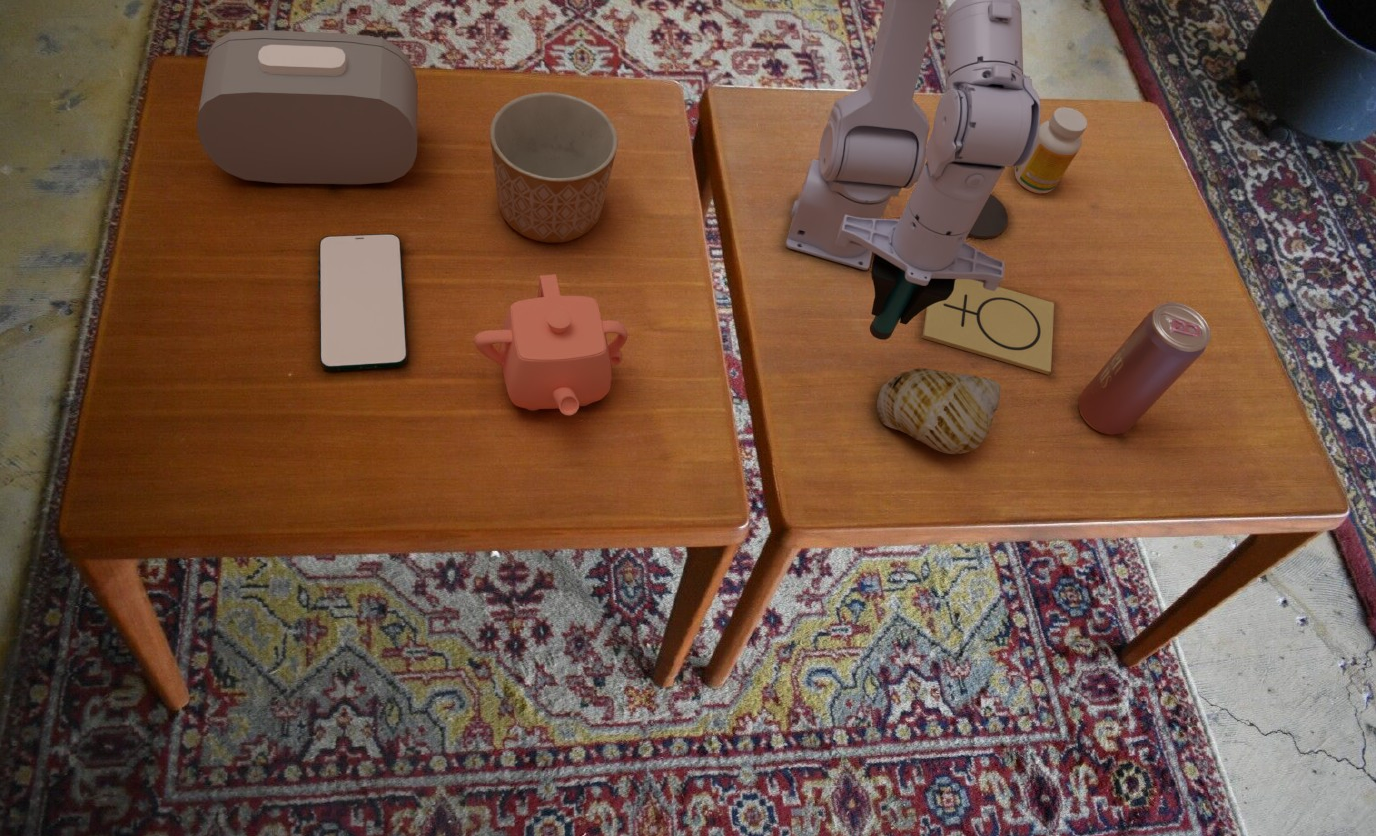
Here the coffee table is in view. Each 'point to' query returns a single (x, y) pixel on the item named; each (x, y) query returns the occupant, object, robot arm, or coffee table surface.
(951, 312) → the sign with female symbol
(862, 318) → the coffee table surface
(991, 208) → the coaster
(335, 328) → the smartphone
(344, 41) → the alarm clock
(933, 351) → the coffee table surface
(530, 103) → the planter
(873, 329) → the dark green cylinder
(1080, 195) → the coffee table surface
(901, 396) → the seashell
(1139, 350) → the beverage can
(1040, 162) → the supplement bottle
